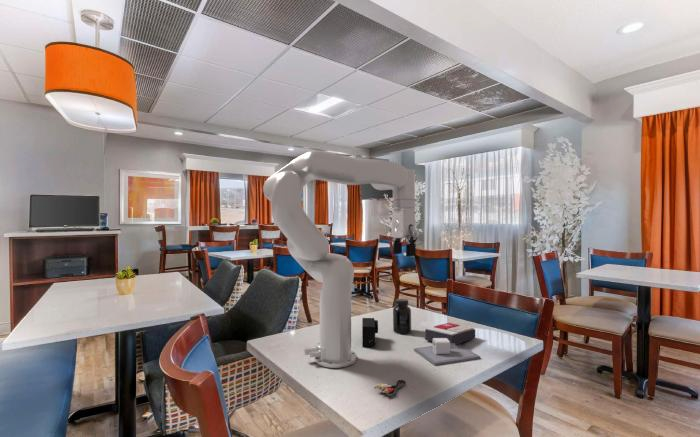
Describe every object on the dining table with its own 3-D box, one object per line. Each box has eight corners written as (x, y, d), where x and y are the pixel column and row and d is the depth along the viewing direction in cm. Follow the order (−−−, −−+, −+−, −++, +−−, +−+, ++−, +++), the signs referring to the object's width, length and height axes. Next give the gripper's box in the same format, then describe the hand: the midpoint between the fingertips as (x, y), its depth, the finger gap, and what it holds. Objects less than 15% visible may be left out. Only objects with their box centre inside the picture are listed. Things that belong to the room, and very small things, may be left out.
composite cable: (401, 382, 85) (401, 372, 85) (415, 389, 81) (415, 379, 81) (372, 393, 79) (372, 383, 79) (386, 402, 75) (386, 391, 75)
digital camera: (378, 348, 108) (378, 326, 108) (362, 347, 108) (362, 326, 108) (377, 337, 118) (377, 317, 118) (362, 336, 118) (362, 317, 118)
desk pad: (434, 365, 94) (434, 363, 94) (413, 350, 105) (413, 348, 105) (480, 358, 99) (480, 356, 99) (456, 344, 110) (456, 342, 110)
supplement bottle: (414, 330, 125) (413, 299, 125) (407, 335, 119) (406, 302, 119) (397, 327, 129) (397, 297, 129) (390, 332, 123) (389, 300, 123)
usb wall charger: (432, 350, 104) (432, 337, 104) (454, 349, 104) (454, 337, 104) (436, 355, 100) (436, 342, 100) (458, 354, 100) (458, 341, 100)
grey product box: (475, 327, 116) (452, 333, 106) (475, 339, 115) (453, 347, 105) (448, 321, 124) (424, 327, 114) (448, 333, 123) (424, 339, 114)
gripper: (383, 206, 120) (383, 253, 119) (405, 203, 103) (405, 257, 103) (402, 206, 122) (402, 252, 122) (426, 204, 106) (426, 257, 105)
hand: (403, 254), depth 112 cm, fingers open, 9 cm apart
